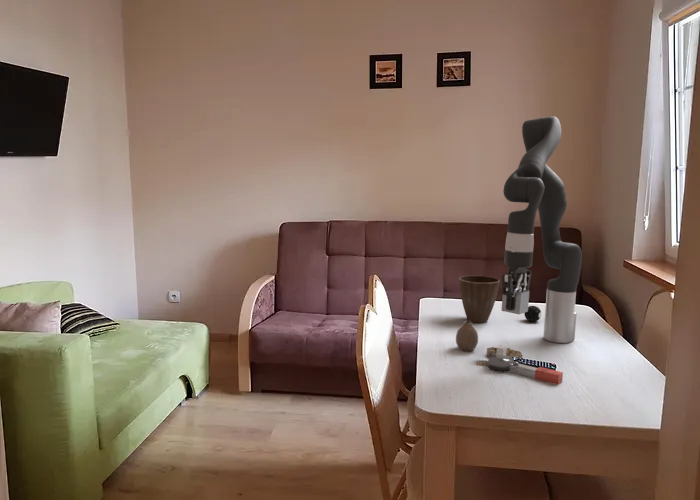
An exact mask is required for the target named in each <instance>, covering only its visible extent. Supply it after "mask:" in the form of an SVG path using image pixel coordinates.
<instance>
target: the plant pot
mask: <svg viewBox="0 0 700 500" xmlns="http://www.w3.org/2000/svg"><path fill="white" fill-rule="evenodd" d="M458 281H459V291H460V298H461V302H462V305H463V306H462V307H463V310H464V313H465V317H466V321H467V322H471V323H478V324H484V323H487V322H488V321H489V319H490V316H491V315H492V312H493V309H494V306H495V303H496V299H497V296H498V290H499V288H500V287H499V286H500V279H499V278H496V277H493V276H492V277H491V276H485V275H464V276H459V278H458Z"/></svg>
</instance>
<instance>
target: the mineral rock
mask: <svg viewBox="0 0 700 500" xmlns="http://www.w3.org/2000/svg"><path fill="white" fill-rule="evenodd" d="M490 354H497V347H494V346H491V347H487V348H486V355H487V357H488V358H489V355H490ZM506 355H508V356H510V357H516V358H522V359H523V354H522V352H521V351H519V350H514V349H511V348H510V347H506Z"/></svg>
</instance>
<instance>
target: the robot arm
mask: <svg viewBox="0 0 700 500" xmlns="http://www.w3.org/2000/svg"><path fill="white" fill-rule="evenodd" d="M521 132H522V133H521V135H522V140H523V144H524V148H525V154H523V156H522V158H521V159H520V161H519V164H518V167H517V168H516V170H514V171H513V172H512V173H511V174H510V175H509V176H508V177H507V179H506V181H505V183H504V184H503V196H504V198H505V199H506V200H507V201H508V202H511V203H523V204H525V203H526V204H528V205H527V207H526V208H525V209H520V210H515V211H511V212H509V214H508V218H507V220H508V221H507V234H506V238H505V245H504V246H505V247H504V248H505V249H504V260H503V261H504V262H503V263H504V265H505V266H507V267H508V270H507V273H506V274H505V273H504V274H501V275H502V276H501V284H502V285H501V286H502V287H501V288H502V291H501V292H502V296H503V295H505V296H507V298H506V309H507V310H511V311H512V310H514V304H515V294H516V291H517V290H518V289H519V286H520V287H522V290H528V291H530V290H529V289H530V284H531V278H532V270H529V269H527V268H531V267H532V266H533V257H534V246H535V239H534V235H535V234H534V233H535V222H536V215H537V212H538V215H539V221H540V229H541V238H542V239H541V241H542V251H543V258H544V259H543V260H544V261H545V264H546V265H547V266H548V267H550V268H552V269H557V270H559V275H558V277H555V278H551V279H549V280H548V281H547V286H546V295H545V298H546V299H545V300H546V301H545V308H544V309H545V310H544V323H543V337H542V338H543V339H544V340H546V341H548V342H551V343H557V344H558V343H559V344H569V343H572V342H574V341H575V338H576V336H575V335H576V325H577V313H576V312H575V310H576V309H575V307H576V299H577V297H576V296H577V288H578V285H579V281H580V276H581V270H582V263H583V252H582V249H581V247H580V246H579V245H578V244H576V243H572V242H564V241H562V239H561V233H560V224H561V221H562V219H563V217H564V214H565V212H566V210H567V206H568V199H567V195H566V193H567V192H566V189H565V184H564V182H563V180H562V179H561V178H560V176H558V174H556V173H555V171H554V170H553V169H552V168H551V167H549V166H548V165H547V163H548V161H549V159H550V158H551V156H552V155H553V154H554V152H555V150H556V149H557V148H558V146H559V144H560V142H561V140H562V139H561V138H562V126H561V122H560V120H559V118H558V117H556V116H543V117H537V118H532V119H529V120H528V119H527V120H525V121H524V122H523V124H522V126H521ZM512 289H513V290H512Z"/></svg>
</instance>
